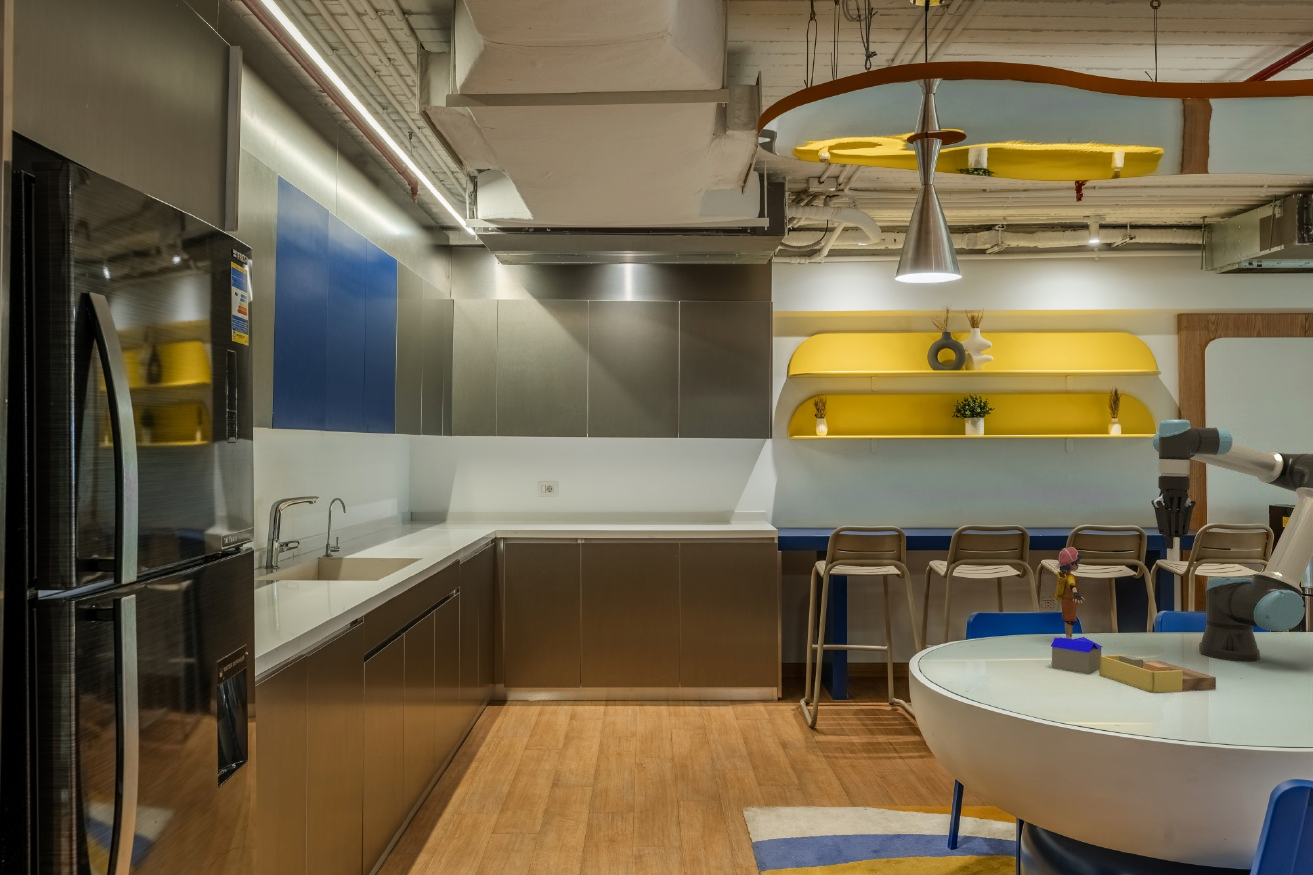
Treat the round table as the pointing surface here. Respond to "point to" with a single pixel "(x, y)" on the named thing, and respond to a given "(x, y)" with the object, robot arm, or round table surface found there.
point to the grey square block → (1131, 660)
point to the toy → (1068, 587)
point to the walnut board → (1192, 678)
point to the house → (1075, 655)
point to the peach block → (1154, 667)
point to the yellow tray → (1140, 675)
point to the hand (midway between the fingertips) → (1173, 560)
